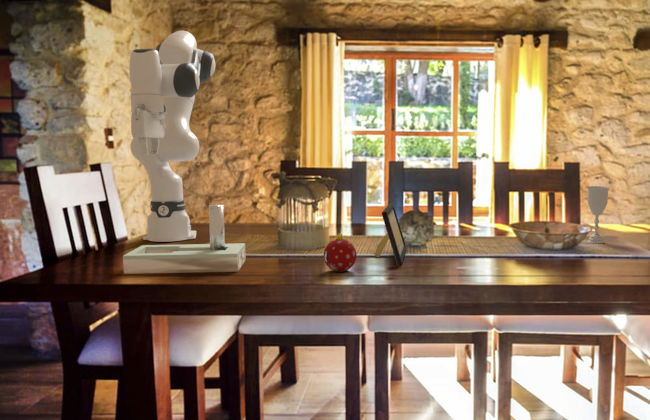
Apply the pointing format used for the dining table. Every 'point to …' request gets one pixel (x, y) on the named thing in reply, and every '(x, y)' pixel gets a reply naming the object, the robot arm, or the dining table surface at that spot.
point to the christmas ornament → (340, 254)
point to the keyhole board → (184, 259)
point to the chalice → (597, 208)
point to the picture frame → (392, 235)
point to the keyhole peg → (216, 227)
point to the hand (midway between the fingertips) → (149, 154)
